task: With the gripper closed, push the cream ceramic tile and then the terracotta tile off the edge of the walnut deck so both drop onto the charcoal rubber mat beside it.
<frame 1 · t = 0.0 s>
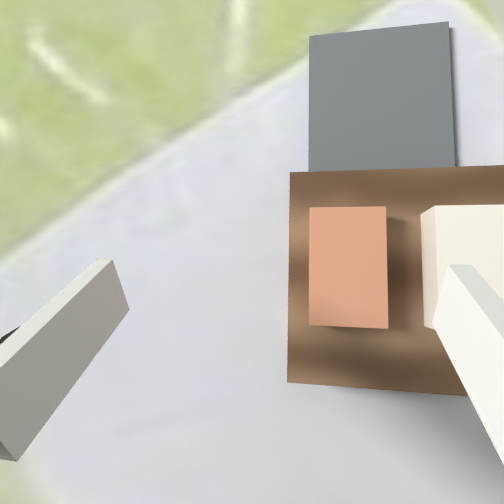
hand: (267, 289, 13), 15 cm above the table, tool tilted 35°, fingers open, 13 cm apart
cream tile: (460, 269, 22), point 4 cm above the table, touching deck
terracotta tile: (342, 267, 23), point 4 cm above the table, touching deck
deck: (385, 277, 26), on the table
mat: (376, 105, 28), on the table
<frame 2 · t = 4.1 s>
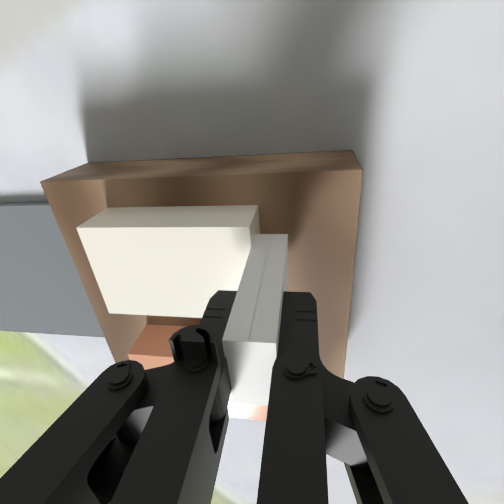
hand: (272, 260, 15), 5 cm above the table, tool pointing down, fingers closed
cream tile: (187, 250, 17), point 4 cm above the table, touching deck, gripper
terracotta tile: (211, 355, 21), point 4 cm above the table, touching deck
deck: (225, 272, 22), on the table
mat: (40, 273, 25), on the table
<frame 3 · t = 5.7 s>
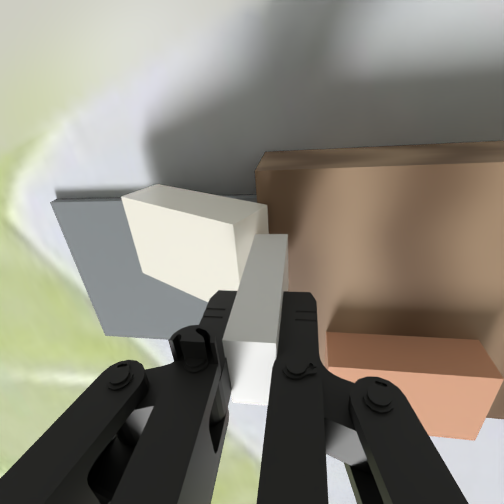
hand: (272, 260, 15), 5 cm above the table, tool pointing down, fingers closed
cream tile: (211, 234, 18), point 2 cm above the table, tilted 27°, touching gripper
terracotta tile: (392, 366, 19), point 4 cm above the table, touching deck
deck: (395, 273, 20), on the table
mat: (170, 274, 23), on the table
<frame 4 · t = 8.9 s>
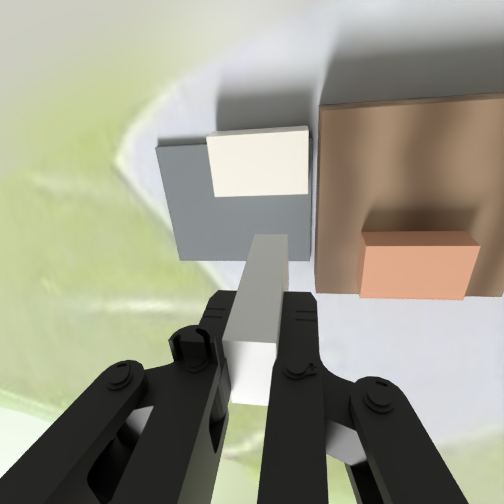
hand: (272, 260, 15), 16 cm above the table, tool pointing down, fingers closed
cream tile: (261, 158, 27), point 1 cm above the table, touching mat
terracotta tile: (406, 257, 27), point 4 cm above the table, touching deck
deck: (406, 196, 28), on the table
mat: (238, 205, 31), on the table
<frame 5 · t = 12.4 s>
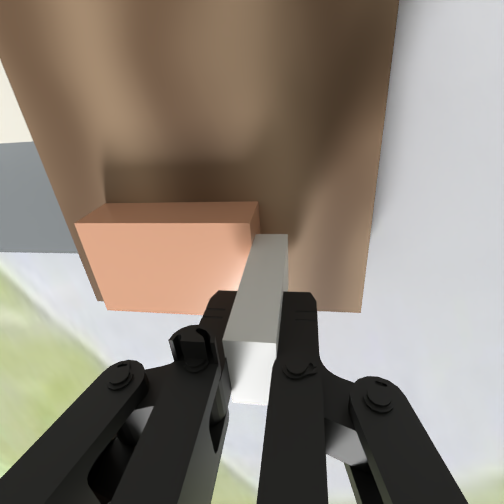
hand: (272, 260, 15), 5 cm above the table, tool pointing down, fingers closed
terracotta tile: (187, 246, 17), point 4 cm above the table, touching gripper
deck: (218, 152, 18), on the table
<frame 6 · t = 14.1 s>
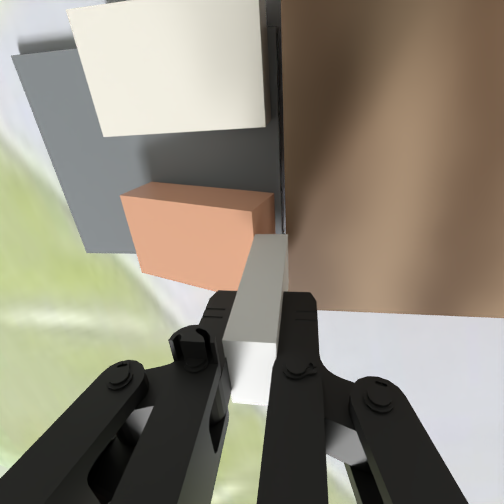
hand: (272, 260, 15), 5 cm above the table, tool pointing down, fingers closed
cream tile: (188, 70, 15), point 1 cm above the table, touching mat
terracotta tile: (212, 228, 18), point 2 cm above the table, tilted 18°, touching gripper
deck: (447, 141, 16), on the table
mat: (163, 162, 19), on the table
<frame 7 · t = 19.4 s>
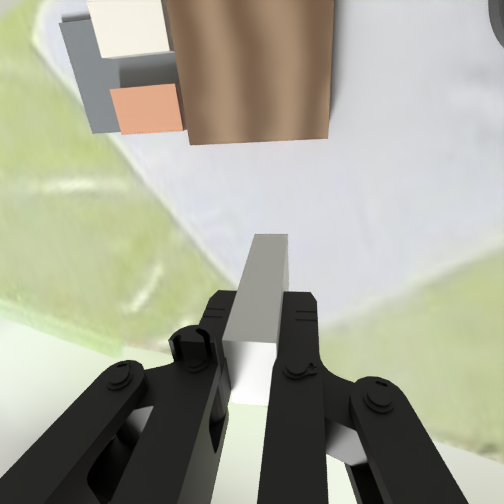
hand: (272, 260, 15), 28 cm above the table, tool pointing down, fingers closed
cream tile: (139, 29, 35), point 1 cm above the table, touching mat
terracotta tile: (155, 108, 39), point 1 cm above the table, touching mat
deck: (256, 61, 35), on the table
mat: (131, 77, 38), on the table
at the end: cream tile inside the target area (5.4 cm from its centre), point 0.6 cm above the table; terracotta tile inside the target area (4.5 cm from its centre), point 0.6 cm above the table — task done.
